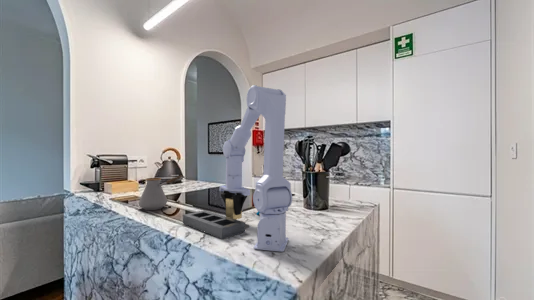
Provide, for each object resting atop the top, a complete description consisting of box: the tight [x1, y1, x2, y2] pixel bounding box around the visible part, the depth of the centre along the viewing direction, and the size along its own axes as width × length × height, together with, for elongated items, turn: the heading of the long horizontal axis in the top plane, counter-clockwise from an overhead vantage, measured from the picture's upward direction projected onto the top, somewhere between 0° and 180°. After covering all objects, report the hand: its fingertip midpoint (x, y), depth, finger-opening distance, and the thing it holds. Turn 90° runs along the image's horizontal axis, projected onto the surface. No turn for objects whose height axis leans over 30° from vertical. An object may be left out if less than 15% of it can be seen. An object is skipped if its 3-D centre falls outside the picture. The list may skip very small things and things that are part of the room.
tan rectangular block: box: [225, 198, 243, 220], centre depth 90 cm, size 4×4×7 cm
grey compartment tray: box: [182, 210, 246, 240], centre depth 83 cm, size 22×9×3 cm, turn 47°
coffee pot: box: [138, 174, 186, 211], centre depth 108 cm, size 21×12×15 cm, turn 71°
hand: (233, 213), depth 90 cm, fingers closed on tan rectangular block, 4 cm apart
